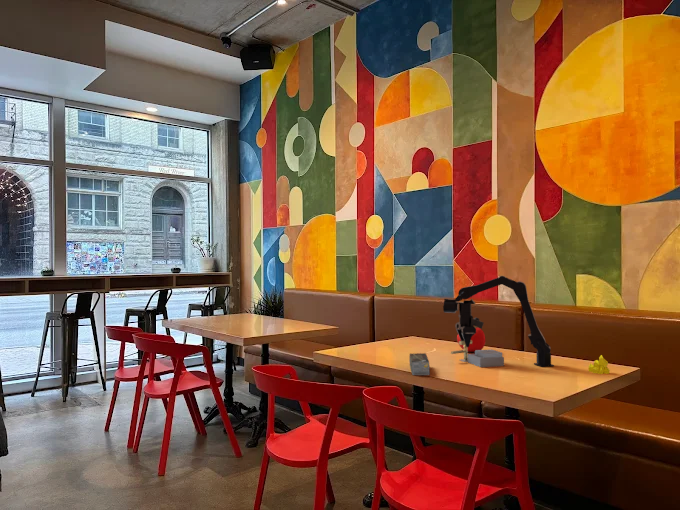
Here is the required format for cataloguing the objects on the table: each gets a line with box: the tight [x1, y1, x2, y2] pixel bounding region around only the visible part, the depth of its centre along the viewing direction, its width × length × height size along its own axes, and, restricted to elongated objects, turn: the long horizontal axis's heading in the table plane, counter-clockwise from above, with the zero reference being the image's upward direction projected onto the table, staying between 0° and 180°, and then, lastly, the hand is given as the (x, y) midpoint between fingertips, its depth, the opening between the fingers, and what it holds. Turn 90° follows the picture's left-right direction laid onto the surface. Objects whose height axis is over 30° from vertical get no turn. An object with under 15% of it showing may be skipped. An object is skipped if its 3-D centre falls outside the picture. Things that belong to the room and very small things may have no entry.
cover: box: [474, 349, 503, 358], centre depth 241 cm, size 9×9×2 cm
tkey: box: [450, 340, 472, 360], centre depth 249 cm, size 13×2×9 cm, turn 121°
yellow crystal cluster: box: [587, 354, 611, 375], centre depth 223 cm, size 6×8×8 cm
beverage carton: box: [409, 352, 431, 376], centre depth 229 cm, size 8×19×7 cm, turn 175°
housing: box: [459, 353, 505, 368], centre depth 245 cm, size 18×13×4 cm
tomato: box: [456, 326, 486, 353], centre depth 275 cm, size 16×14×14 cm
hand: (465, 345), depth 251 cm, fingers open, 9 cm apart
